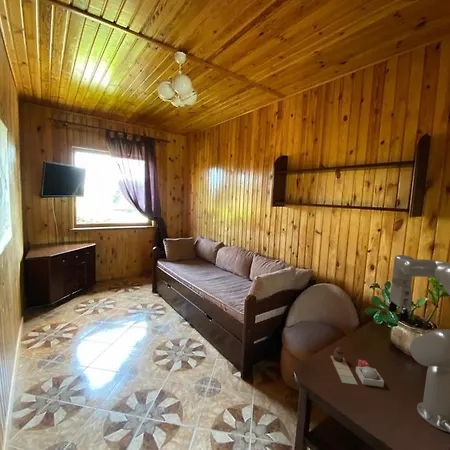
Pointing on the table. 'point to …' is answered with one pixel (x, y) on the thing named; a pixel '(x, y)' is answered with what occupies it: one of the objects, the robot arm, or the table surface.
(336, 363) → the game board
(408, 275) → the robot arm
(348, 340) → the table surface
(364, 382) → the popper base
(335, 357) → the pawn
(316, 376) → the table surface
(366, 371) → the dome
